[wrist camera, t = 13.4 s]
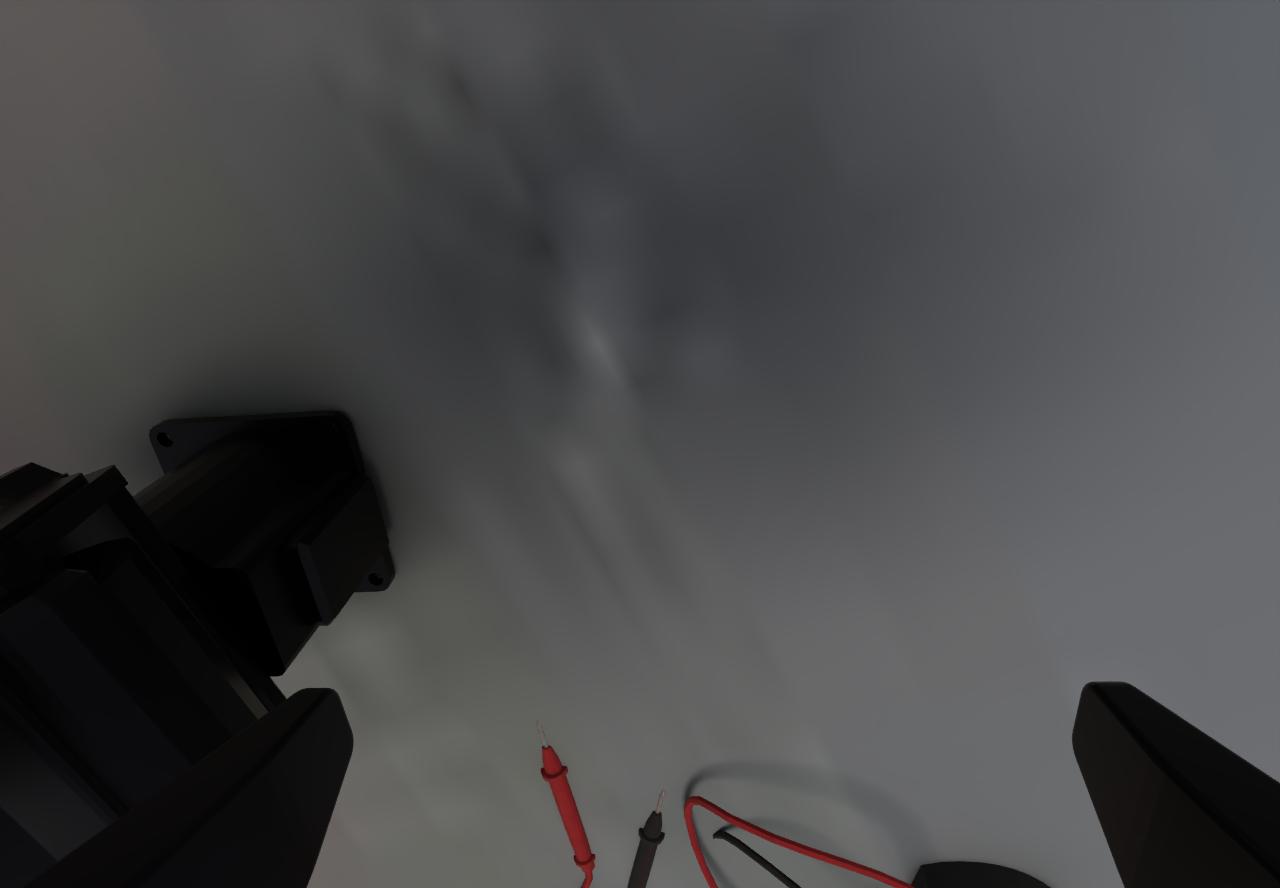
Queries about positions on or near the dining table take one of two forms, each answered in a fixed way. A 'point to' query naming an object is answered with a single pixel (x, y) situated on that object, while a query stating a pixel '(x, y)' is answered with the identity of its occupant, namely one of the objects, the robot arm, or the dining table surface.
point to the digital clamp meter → (933, 884)
